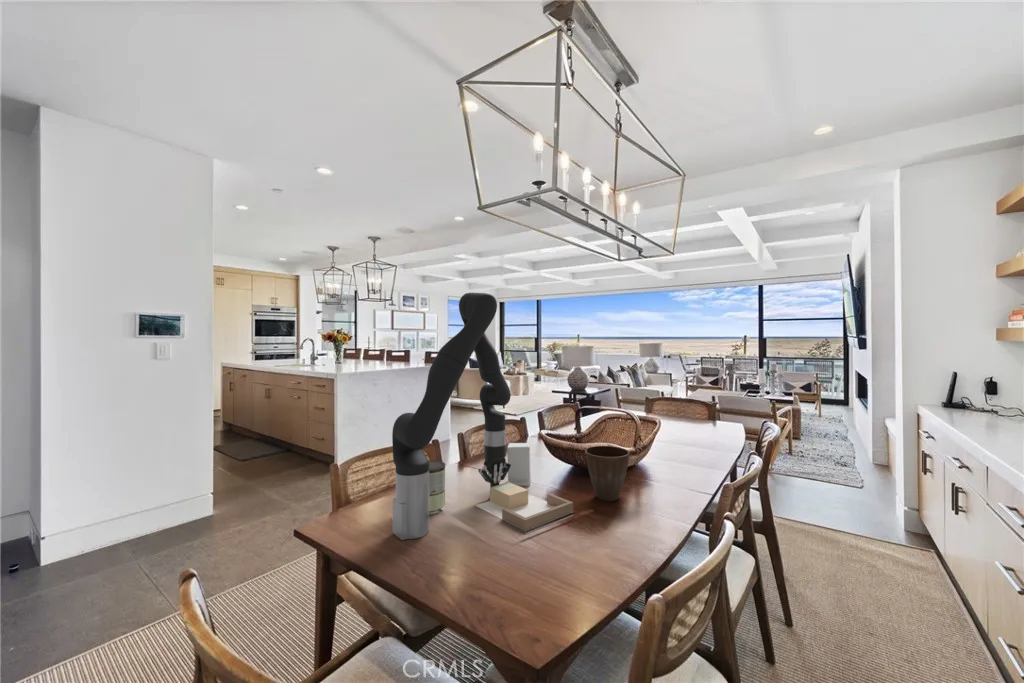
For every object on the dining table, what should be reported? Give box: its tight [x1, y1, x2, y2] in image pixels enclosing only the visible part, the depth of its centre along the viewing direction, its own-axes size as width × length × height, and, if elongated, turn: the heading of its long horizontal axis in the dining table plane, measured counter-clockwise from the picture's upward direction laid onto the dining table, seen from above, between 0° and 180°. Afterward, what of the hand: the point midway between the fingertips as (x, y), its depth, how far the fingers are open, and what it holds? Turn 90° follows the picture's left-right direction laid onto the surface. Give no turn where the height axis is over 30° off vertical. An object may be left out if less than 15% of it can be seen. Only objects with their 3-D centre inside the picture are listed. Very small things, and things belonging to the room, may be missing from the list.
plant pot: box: [584, 445, 630, 502], centre depth 144 cm, size 15×15×16 cm
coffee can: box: [429, 460, 446, 516], centre depth 134 cm, size 10×10×14 cm
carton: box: [489, 481, 529, 510], centre depth 136 cm, size 8×10×5 cm
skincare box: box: [506, 442, 532, 487], centre depth 155 cm, size 8×7×16 cm
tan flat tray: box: [475, 493, 574, 536], centre depth 131 cm, size 20×24×4 cm
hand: (494, 493), depth 142 cm, fingers closed
